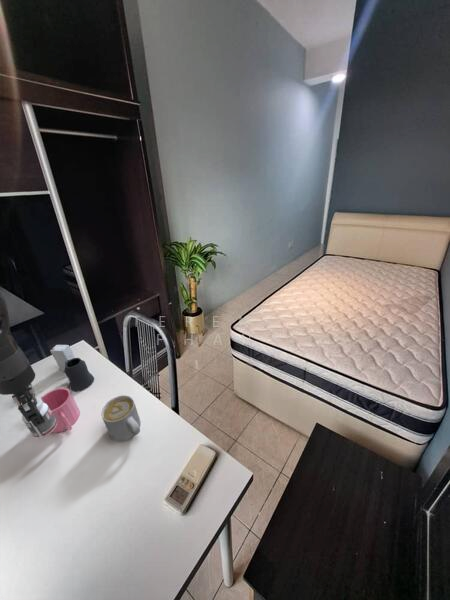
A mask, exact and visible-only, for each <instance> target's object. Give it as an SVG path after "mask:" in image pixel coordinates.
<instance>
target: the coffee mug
mask: <svg viewBox="0 0 450 600" xmlns="http://www.w3.org/2000/svg"><path fill="white" fill-rule="evenodd" d="M136 406H137V405H136V404H135V400H134V399H133V398H132V397H131V396H129V395H126V394H125V395H122V394H121V395H118V396H115V397H113V398H111V399H109V400H108V401H107V402H106V403H105V404H104V406H103V407H102V409H101V419H102V421H103V423H104V425H105V429H106V430H107V432H108V435H109V437H110V438H111V440H113V441H114V442H117V443H123V442H126V441H130V440H131V439H132V438H134V436H138V434H140V432H141V423H142V422H141V419H140V415H139V413H138V408H137V407H136Z"/></svg>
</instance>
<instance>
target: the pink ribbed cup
mask: <svg viewBox="0 0 450 600" xmlns="http://www.w3.org/2000/svg"><path fill="white" fill-rule="evenodd" d="M40 398H41V400H42V401H43V403H46V404H47V405H48V407H49V408H50V410H51V412H52V413H53V415H54V417H55V419H56V420H57V426H56V428H55V429H54V430H53V431H52V432H51V433H50V434H58V433H62V432H65V431H66V430H68V431H71V430H73V426H74V425H75V423H77V421H78V420H79V418H80V416H81V411H80V407H79V406H78V404H77V402H76V400H75V398H74V397H73V394H72V392H71V389H70V388H66V387H59V388H55V389H52V390H50V391H48V392H46V393H44V394H43V395H42V396H41V397H40Z"/></svg>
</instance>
